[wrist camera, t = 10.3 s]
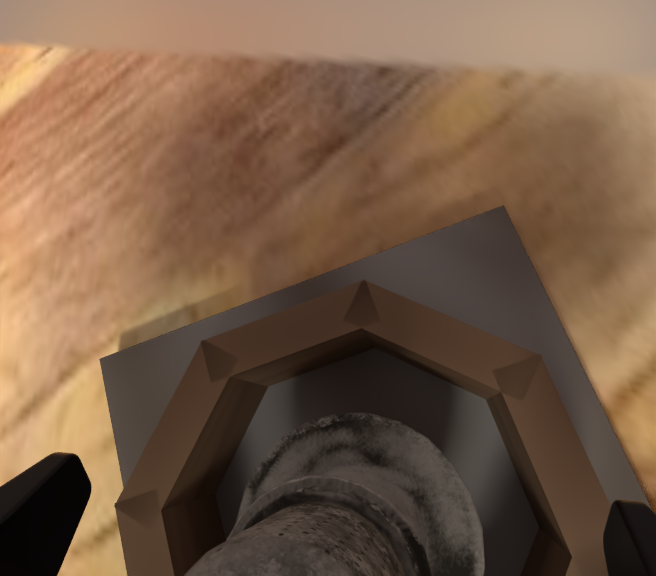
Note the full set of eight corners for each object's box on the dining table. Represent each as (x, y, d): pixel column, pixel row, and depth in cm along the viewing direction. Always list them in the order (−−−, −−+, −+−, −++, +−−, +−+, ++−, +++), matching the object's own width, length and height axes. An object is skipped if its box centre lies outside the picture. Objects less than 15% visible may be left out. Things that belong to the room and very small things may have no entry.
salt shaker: (267, 427, 17) (-83, 427, 5) (451, 403, 16) (508, 340, 4) (285, 636, 15) (-170, 1293, 4) (491, 621, 14) (754, 1427, 3)
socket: (213, 856, 15) (125, 1030, 10) (115, 362, 19) (27, 344, 15) (736, 709, 13) (879, 839, 9) (499, 216, 18) (521, 151, 14)
